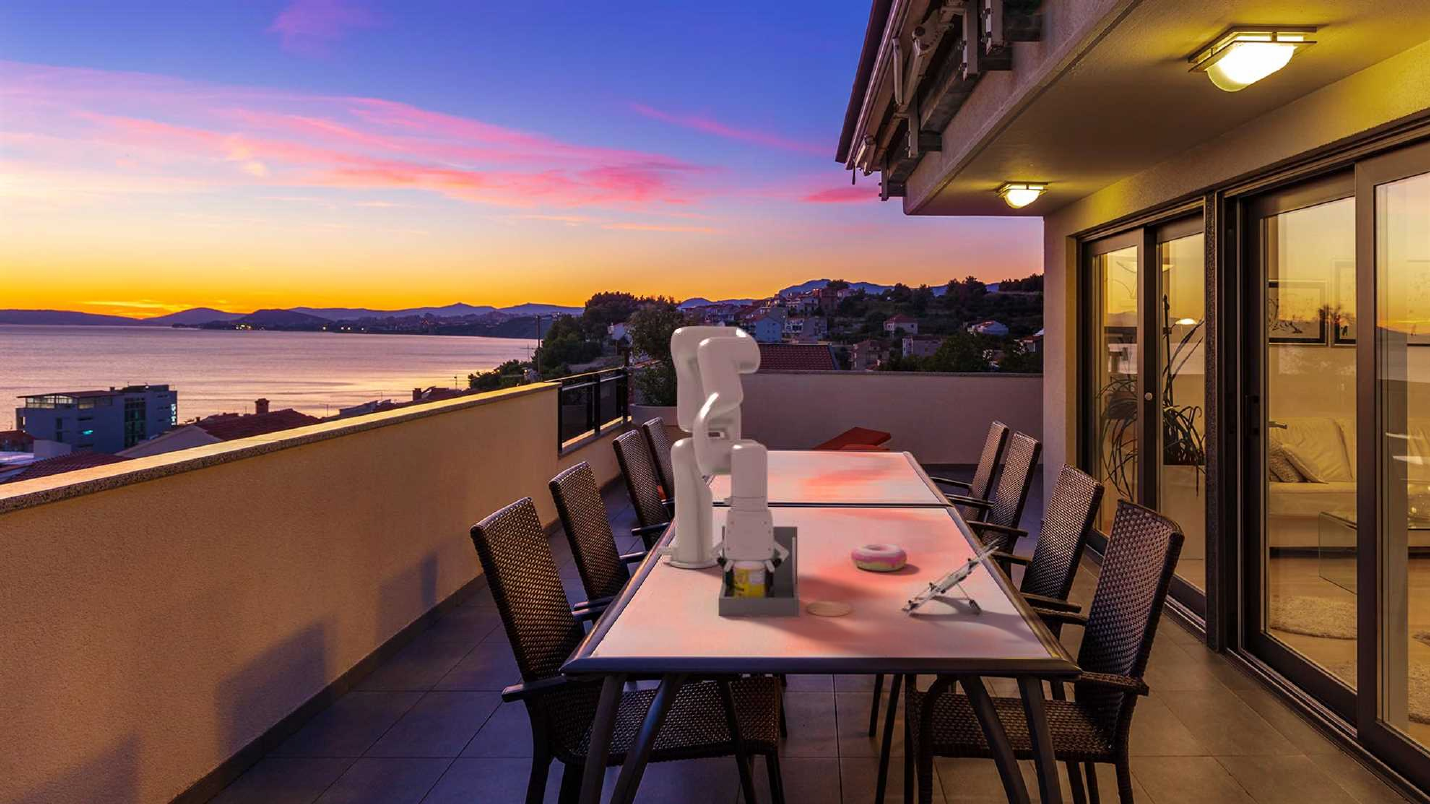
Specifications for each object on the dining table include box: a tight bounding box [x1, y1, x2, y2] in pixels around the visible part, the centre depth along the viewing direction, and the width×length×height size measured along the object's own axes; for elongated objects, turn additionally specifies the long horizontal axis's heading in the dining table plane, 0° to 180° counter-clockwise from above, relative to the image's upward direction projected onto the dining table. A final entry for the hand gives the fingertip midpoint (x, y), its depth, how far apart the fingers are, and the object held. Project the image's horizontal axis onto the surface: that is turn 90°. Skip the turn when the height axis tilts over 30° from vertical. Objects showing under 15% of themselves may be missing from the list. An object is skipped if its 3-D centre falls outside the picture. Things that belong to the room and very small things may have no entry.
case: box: [718, 525, 800, 618], centre depth 171 cm, size 16×13×16 cm
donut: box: [850, 542, 908, 572], centre depth 205 cm, size 14×13×5 cm
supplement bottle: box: [734, 561, 766, 597], centre depth 171 cm, size 7×7×13 cm
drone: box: [901, 538, 1000, 616], centre depth 168 cm, size 23×23×10 cm
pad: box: [805, 601, 851, 617], centre depth 169 cm, size 9×9×1 cm
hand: (749, 588), depth 171 cm, fingers open, 7 cm apart
